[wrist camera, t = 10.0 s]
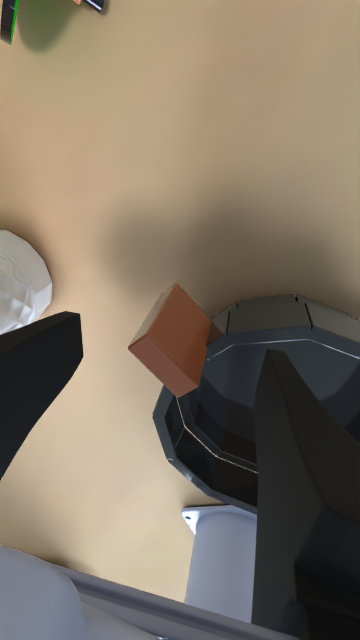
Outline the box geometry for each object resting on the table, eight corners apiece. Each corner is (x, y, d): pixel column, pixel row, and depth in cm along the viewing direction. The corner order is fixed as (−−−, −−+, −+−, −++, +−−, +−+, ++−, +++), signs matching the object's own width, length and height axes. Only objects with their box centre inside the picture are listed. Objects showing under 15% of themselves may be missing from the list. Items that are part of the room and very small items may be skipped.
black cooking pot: (434, 404, 19) (528, 540, 13) (252, 471, 25) (252, 586, 19) (276, 190, 15) (293, 223, 9) (108, 329, 22) (43, 410, 15)
